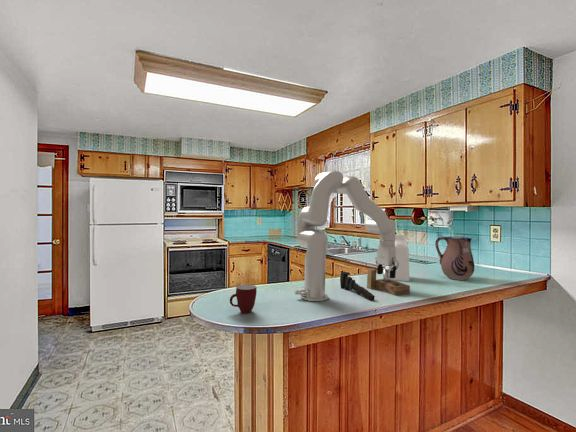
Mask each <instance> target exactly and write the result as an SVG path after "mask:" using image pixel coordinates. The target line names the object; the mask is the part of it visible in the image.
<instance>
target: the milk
mask: <svg viewBox="0 0 576 432" xmlns="http://www.w3.org/2000/svg"><path fill="white" fill-rule="evenodd" d="M395 250H396V260H397V261H398V262H399V266H398V268H397V270H396V274H395V278H389V279H391V280H394V281H397V282H400V281H405V282H409V281H410V250H409V246H408V243H407V240H406V238H405V236H404V234H395ZM384 266H385V265H384ZM392 268H393V266H392ZM384 269H390V267H389V266H385V268H384ZM390 270H391V269H390Z"/></svg>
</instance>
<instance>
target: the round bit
mask: <svg viewBox="0 0 576 432" xmlns="http://www.w3.org/2000/svg"><path fill="white" fill-rule="evenodd" d="M389 278H390V269H385V268H383V274H382V279H383V282H389Z"/></svg>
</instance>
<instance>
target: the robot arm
mask: <svg viewBox="0 0 576 432" xmlns="http://www.w3.org/2000/svg"><path fill="white" fill-rule="evenodd" d="M314 184H315V185H314V187H313V188H312V189H313V190H312V192H311V196H310V201H309V202H310V203H309V205H308V206H304V207H303V208H302V209H300V212H299V215H298V219H297V221H298V223H297V229H296V230H297V231H296V240H297V244H298V245H299V246H300V247H301V248H304V249H307V250H306V252H305V256H304V286H303V287H302V286H301V287H302V288H301V289H300V290H299V289H296V290H294V295H295V296H296V295H297V296H298V295H299V296H300V298H301V299H303V300H305V301H308V302H323V301H326V300H328V299H329V295H328V294H327V293H326V257H327V250H328V244H329V240H328V239H329V238H328V235H327V234H326V233H325V231H323V230H320V229H316V227H317V228H319V227H323V226H325V225H326V223H327V222H328V215H329V206H330V204H329V203H330V199H331V195H332V194H339V195H345V194H346V196H347V197H348V199H349V201H350V202H351V204H352V205H353V207H354V208H355V210H357V211H358V212H359V213H362V214H364V215H366V216H368V217H369V218H370V219H368V220H366V222H365V223H364V230H365V231H367V232H368V233H369V234H376V235H379V244H378V247H377V252H376V256H375V258H374V259H375V264H376V268H377V269H376V275H383V269H384V267H383V266H389V267H390V269H391V270H390V278H395V274H396V270H397V268H398V266H399V262H398V261H397V260H396V250H395V235H396V221H395V220H394V219H390V218H389V217H388V215H387V213H386V212H385V210H383V209H382V208H381V206H379V205H378V204H376V202H375V201H373V200H372V199H371V198H370V197H369V194H368V193H367V192H366V190H365V188H364V186H363V185H362V182H361V181H360V179H359V178H357V177H356V176H354V175H352V176H351V175H350V176H344V174H343V173H342V172H341V171H339V170H331V171H323V172H320V173H318V174H317V175H316V176H315V178H314ZM392 266H393V268H392Z"/></svg>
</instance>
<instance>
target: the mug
mask: <svg viewBox="0 0 576 432" xmlns="http://www.w3.org/2000/svg"><path fill="white" fill-rule="evenodd" d="M257 292H258V291H257V286H256V285H254V284H240V285H239V284H238V285H237V286H236V288H235V293H234V294H231V296H230V298H229V304H230V305H231V306H232V307H233V308H234V307H236V308H237V307H238V309H239V311H240V312H241V313H242V314H251V312H252V311H253V309H254V307H255V303H256V297H257ZM234 298H236V303H237V304H234V303H233V300H234Z"/></svg>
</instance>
